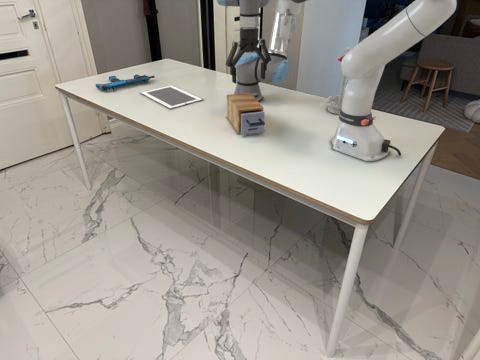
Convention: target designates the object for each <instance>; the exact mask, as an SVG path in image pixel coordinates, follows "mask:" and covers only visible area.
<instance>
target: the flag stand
mask: <svg viewBox="0 0 480 360" xmlns="http://www.w3.org/2000/svg"><path fill="white" fill-rule="evenodd" d="M351 49H352V47H350V46H347V47H346V48H345V50H344V52H345V54H344V55H342V56H341V57H339V58H338V59H337V61H338V62H342V59H343V57H344V56H345V55H346V54H347V53H348V52H349V51H350V50H351ZM346 79H347V77H346V76H345V75H344V74H343V73H342V77H341V83H340V84H341V85H340V89H339V94H338V95H337V94H335V95H334V97H333V96H332V95H330V96H328V97H327V98H326V101H325V104H326V106H327V111H328V112H329V113H332V114H336V115H339V113H340V109H341V108H342V102H343V97H344V91H345V84H346Z"/></svg>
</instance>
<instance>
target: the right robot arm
mask: <svg viewBox="0 0 480 360" xmlns="http://www.w3.org/2000/svg"><path fill="white" fill-rule="evenodd" d="M307 1H310V0H278V13H279V14H281V16H280V17H281V26H280V38H281V39H282V42H283V50H285V51H286V50H288V48H289V45H290V44H291V43H292V42H291V40H292V35H293V33H294V31H295V29H296V24H297V21H298V20H297V19H298V15H300V14H301V13H302V6H303V5H302V4H303V3H305V2H307ZM457 2H458V1H457V0H414V1H412V3H410V4H409V5H408V6H406V7H405V8H404V9H402V10H401V11H400V12H399V13H397V14H396V15H395V16H394V17H392V18H391V19H390V20H388V21H387V22H386V23H385V24H383V25H382V26H381V27H379V28H377V30H375V31H374V32H373V33H371V34H369V35H367V37H365V38H364V39H363V40H361V41H360V42H359V43H357V44H356V45H355V46H353V47H351V50H350V51H349V52H348V53H347V54H346V53H345V54H344V55H345V56H344V55H343V56H344V57H343V56H342V57H343V59H342V62H341V61H340V62H341V63H340V71H341V72H342V75H343V74H344V75H345V76H346V79H348V81H347V84H346V86H345V87H344V91H343V97H342V98H343V102H342V108H341V109H340V113H339V114H338V122H337V123H338V124H337V127H336V130H335V132H334V135H333V137H332V139H331V144H332V149H333V150H334V151H336V152H340V153H343V154H344V155H345V154H346V155H348V156H351V157H354V158H356V159H359V160H361V161H365V162H374V161H379V160H381V159H383V158H385V157H387V155H388V154H389V152H390V150H389V148H390V149H393V150H394V151H395V152H397V155H398V157H400V156H402V153H401V151H400V149H399V148H397V147H396V146H394V145H391V140H390V139H385V138H384V135H383V134H382V133H381V131H379V128H377V126H376V125H375V124H374V121H375V120H376V119H377V116H373V113H372V109H373V104H374V100H375V95H376V93H377V89H378V87H379V84H380V81H381V78H382V76H383V73H384V70H385V67H386V65H387V64H388V63H390V62H391V61H393V60H394V59H396V58H397V57H399V56H400V55H402V54H403V53H405V52H406V51H407V50H409V49H410V48H412V47H413V46H415V45H416V44H417V43H419V42H420V41H422V40H423V39H425V38H426V37H428V36H429V35H431V33H433V32H434V31H435V30H437V29H438V28H439V27H440V26H442V24H444V23H445V22H446V21H447V20H448V19H449V18H450V17H451V16H452V15H453V14H454V13H455V11H456V9H457V5H458V3H457Z"/></svg>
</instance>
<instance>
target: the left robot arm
mask: <svg viewBox="0 0 480 360" xmlns="http://www.w3.org/2000/svg"><path fill="white" fill-rule="evenodd" d="M276 1H277V2H276V7H275V11H274V16H273V22H272V28H271V33H270V38H269V44H268V46H267V45H266V39H265V38H263V37H262V38H259V31H260V30H259V28H258V27H259V25H260V23H259V22H260V8H261V9H262V8H264V7H266V6H268V4H270V2H271V0H216V2H217V4H218V5H219V6H220V7H221V6H222V7H236V8H238V7H239V27H240V28H239V41H235V40H233V41H232V44H231V49H230V51H229V53H228V56H227V58H226V61H225V66H227V67H228V68H229V74H230V75H231V82H232V83H233V84H236V86H235V89H234V93H233V94H241V93H250V94H251V95H252V96H253V97H254V98H255V99H256V100H257V101H258V102H260V101H262V99H263V95H262V91H261V88H260V84H259V83H260V82H262V83H269V84H270V83H271V84H282V83H284V82H285V81H286V79H287V77H288V75H289V71H290V61H289V60H288V56H287V54H286V50H283V42H282V39H281V38H280V26H281V17H280V16H281V14H279V13H278V0H276ZM258 45H260V47H261V50H262V52H261V51H260V49H259V47H258ZM238 48H239V49H238ZM237 51H238V52H237Z"/></svg>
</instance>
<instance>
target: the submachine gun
mask: <svg viewBox="0 0 480 360" xmlns="http://www.w3.org/2000/svg"><path fill="white" fill-rule="evenodd" d="M151 79H155V75H150V76H149V75H147V74H143V75H140V74H134V75H133V78H128V79H120V78H117V76H116V75H110V76H108V80H109V81H110V82H108V83H94V84H95V88H97V89H98V90H99V91H101V92H104V91H111V90H112V91H116V90H115V89H119V88H124V87H128V86H133V85H138V84H143V83H148V82H149V81H150V80H151Z"/></svg>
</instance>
